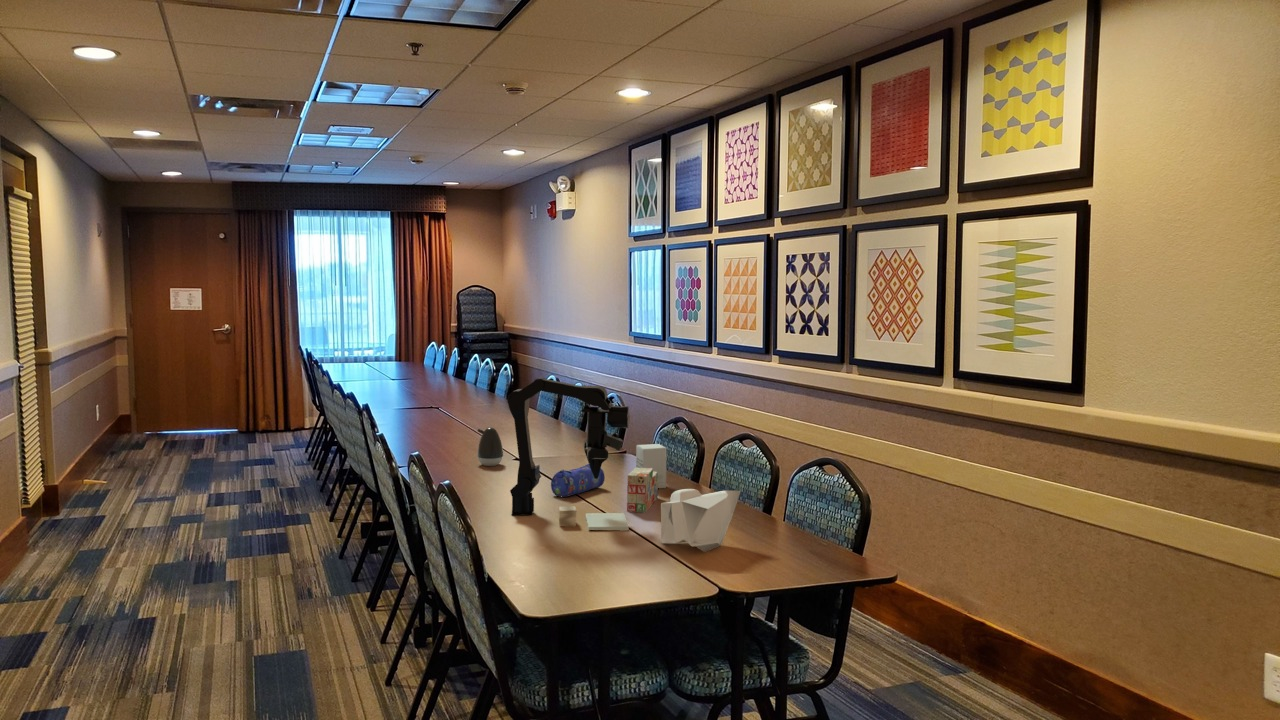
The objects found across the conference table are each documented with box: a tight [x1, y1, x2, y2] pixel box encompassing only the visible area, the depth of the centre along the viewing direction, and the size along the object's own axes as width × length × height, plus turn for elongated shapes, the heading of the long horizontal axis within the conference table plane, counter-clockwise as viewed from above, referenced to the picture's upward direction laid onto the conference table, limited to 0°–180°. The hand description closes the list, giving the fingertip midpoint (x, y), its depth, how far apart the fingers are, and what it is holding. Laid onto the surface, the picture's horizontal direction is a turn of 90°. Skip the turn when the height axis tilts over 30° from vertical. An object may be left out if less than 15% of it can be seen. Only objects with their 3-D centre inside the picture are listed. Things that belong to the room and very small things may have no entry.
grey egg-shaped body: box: [477, 427, 504, 467], centre depth 369 cm, size 10×10×15 cm
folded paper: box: [660, 488, 742, 553], centre depth 260 cm, size 17×24×17 cm
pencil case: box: [550, 463, 605, 498], centre depth 324 cm, size 22×9×10 cm, turn 144°
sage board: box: [585, 512, 629, 531], centre depth 283 cm, size 12×16×1 cm
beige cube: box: [558, 505, 577, 527], centre depth 281 cm, size 5×5×5 cm
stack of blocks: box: [626, 467, 659, 513], centre depth 308 cm, size 21×6×12 cm, turn 168°
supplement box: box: [635, 443, 667, 489], centre depth 335 cm, size 9×9×15 cm
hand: (594, 475), depth 290 cm, fingers open, 9 cm apart
